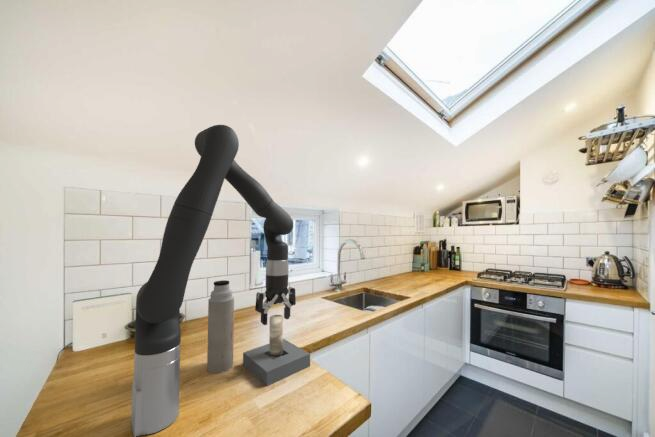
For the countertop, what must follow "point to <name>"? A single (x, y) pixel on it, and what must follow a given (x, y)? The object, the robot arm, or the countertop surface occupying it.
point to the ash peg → (276, 336)
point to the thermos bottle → (220, 328)
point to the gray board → (275, 362)
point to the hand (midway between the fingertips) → (275, 321)
